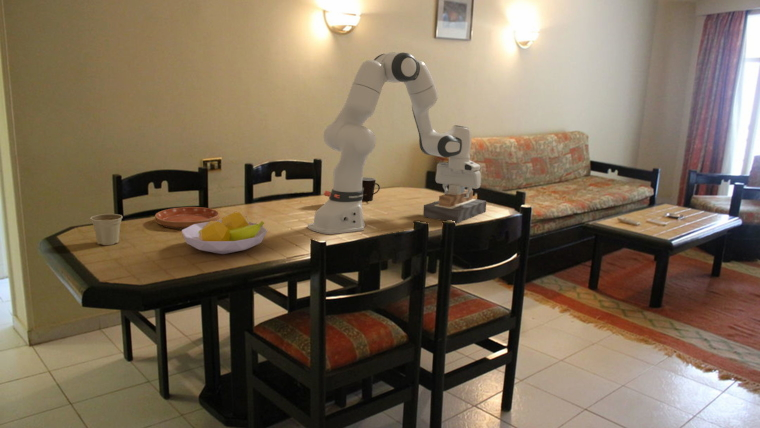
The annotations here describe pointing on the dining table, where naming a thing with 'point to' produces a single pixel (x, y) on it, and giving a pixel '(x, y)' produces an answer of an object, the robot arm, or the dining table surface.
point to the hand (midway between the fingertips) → (456, 196)
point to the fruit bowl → (225, 234)
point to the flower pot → (107, 228)
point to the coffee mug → (368, 188)
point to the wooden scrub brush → (454, 199)
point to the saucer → (185, 216)
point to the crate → (454, 189)
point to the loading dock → (455, 210)
